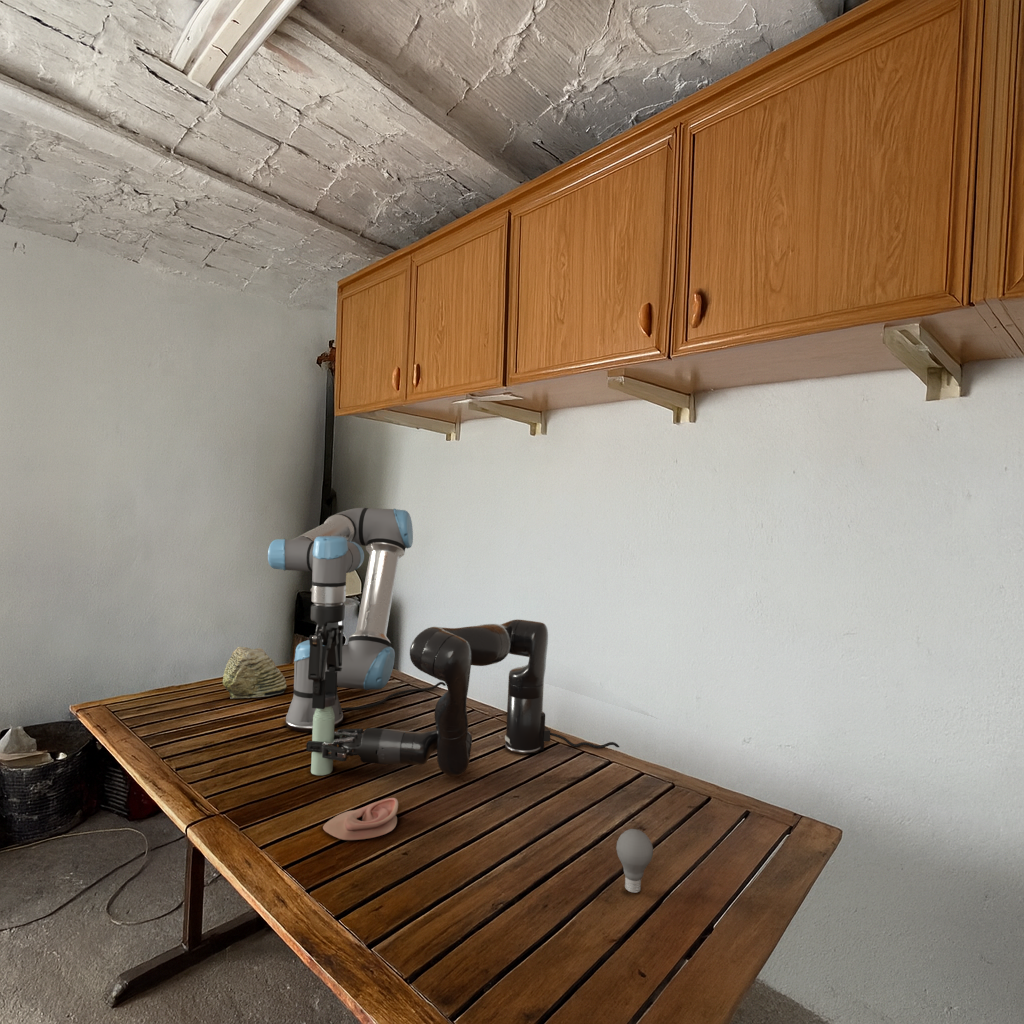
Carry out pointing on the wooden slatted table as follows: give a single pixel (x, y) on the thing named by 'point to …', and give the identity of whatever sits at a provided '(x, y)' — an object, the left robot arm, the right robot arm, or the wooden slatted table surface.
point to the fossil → (252, 674)
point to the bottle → (322, 739)
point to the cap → (329, 699)
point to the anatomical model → (364, 821)
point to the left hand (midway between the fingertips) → (324, 703)
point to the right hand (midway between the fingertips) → (311, 741)
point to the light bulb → (634, 857)
